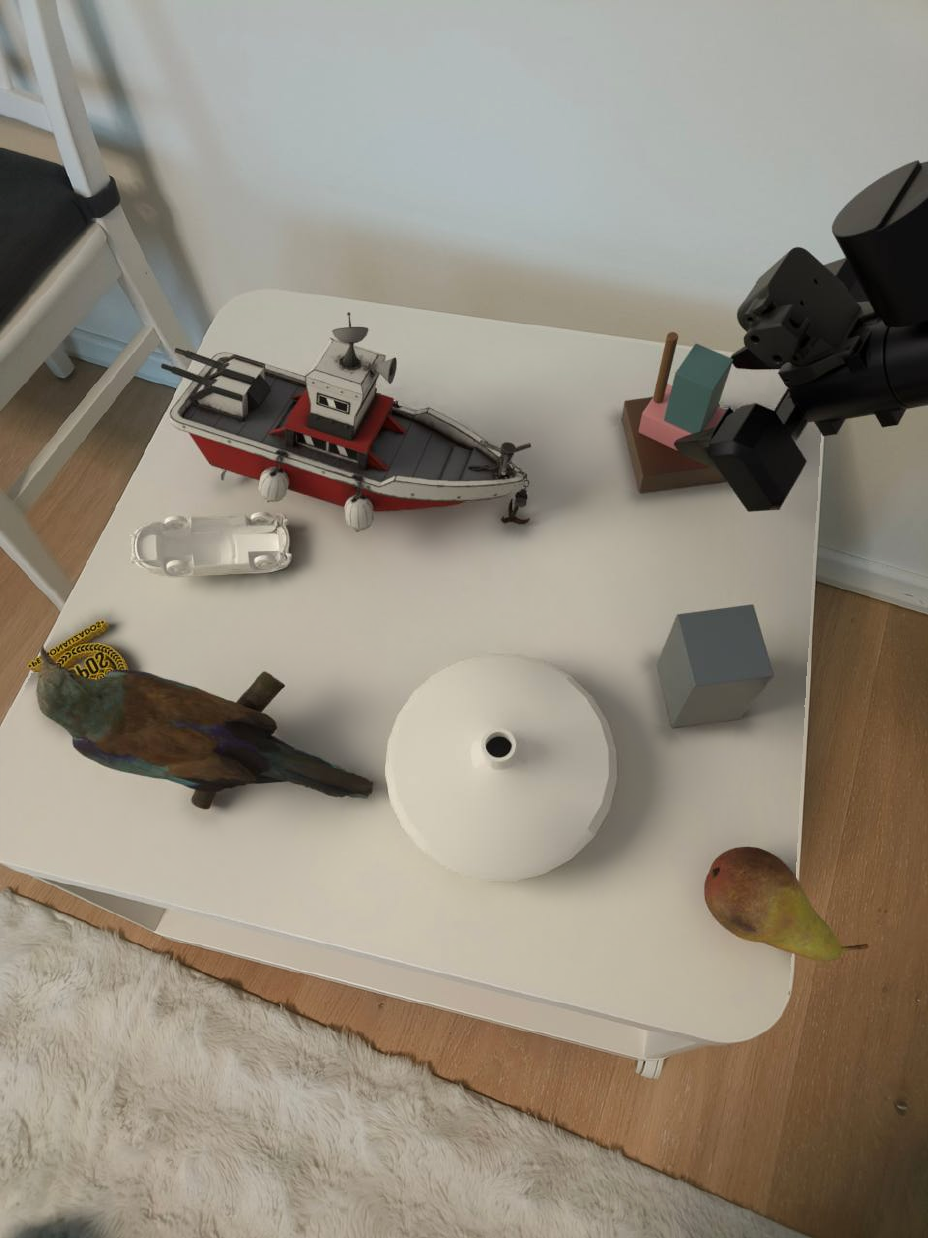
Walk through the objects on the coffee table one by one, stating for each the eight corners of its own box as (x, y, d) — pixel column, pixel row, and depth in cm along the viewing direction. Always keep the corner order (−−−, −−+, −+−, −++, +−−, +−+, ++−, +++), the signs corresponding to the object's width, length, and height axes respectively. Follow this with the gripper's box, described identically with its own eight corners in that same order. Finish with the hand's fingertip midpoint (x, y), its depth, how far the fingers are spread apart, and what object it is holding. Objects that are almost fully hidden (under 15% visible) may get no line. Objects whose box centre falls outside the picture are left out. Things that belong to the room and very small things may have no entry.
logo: (102, 617, 66) (146, 696, 63) (107, 621, 67) (150, 699, 64) (25, 663, 65) (66, 746, 62) (30, 667, 66) (71, 748, 63)
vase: (396, 897, 57) (380, 885, 51) (386, 678, 64) (371, 642, 57) (629, 876, 57) (643, 860, 50) (595, 658, 63) (604, 619, 57)
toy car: (287, 507, 68) (286, 528, 71) (128, 514, 65) (135, 535, 68) (292, 561, 66) (291, 580, 69) (129, 570, 63) (136, 590, 66)
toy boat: (214, 405, 76) (200, 218, 62) (532, 507, 75) (588, 340, 62) (142, 501, 68) (108, 310, 54) (498, 616, 67) (554, 452, 54)
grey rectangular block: (723, 655, 63) (753, 603, 54) (740, 719, 61) (774, 675, 52) (656, 664, 63) (676, 613, 55) (671, 728, 61) (694, 686, 52)
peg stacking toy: (720, 429, 68) (749, 346, 59) (700, 461, 67) (726, 381, 58) (659, 401, 69) (678, 316, 61) (637, 432, 68) (655, 350, 60)
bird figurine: (399, 714, 61) (180, 585, 47) (359, 850, 58) (108, 754, 44) (278, 707, 69) (60, 595, 55) (236, 826, 66) (-8, 739, 52)
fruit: (753, 867, 49) (916, 990, 49) (743, 815, 54) (890, 926, 55) (689, 925, 51) (846, 1042, 51) (686, 870, 56) (828, 976, 57)
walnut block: (708, 407, 72) (714, 387, 70) (730, 481, 69) (737, 463, 66) (621, 419, 72) (624, 400, 70) (639, 493, 69) (643, 476, 67)
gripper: (915, 147, 50) (708, 235, 63) (779, 363, 44) (582, 411, 57) (983, 297, 55) (778, 350, 68) (870, 509, 49) (669, 523, 62)
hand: (705, 403), depth 64 cm, fingers open, 9 cm apart
